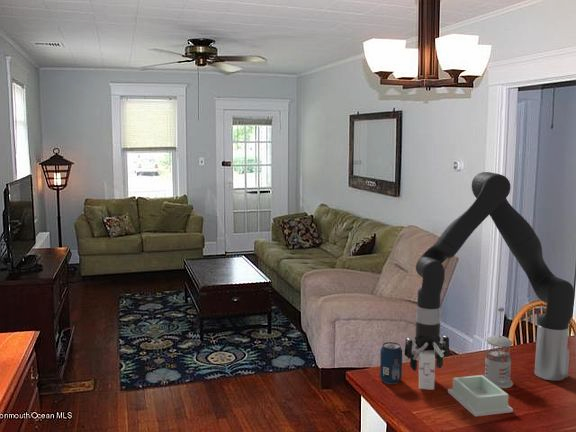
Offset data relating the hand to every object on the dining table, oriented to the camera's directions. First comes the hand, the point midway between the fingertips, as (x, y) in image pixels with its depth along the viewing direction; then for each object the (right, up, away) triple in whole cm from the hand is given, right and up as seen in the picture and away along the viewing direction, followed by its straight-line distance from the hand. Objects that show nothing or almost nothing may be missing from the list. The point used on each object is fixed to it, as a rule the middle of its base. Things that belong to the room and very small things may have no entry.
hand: (426, 368), depth 186 cm
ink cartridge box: (0, -5, +1) cm, 5 cm away
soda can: (-11, -5, +3) cm, 12 cm away
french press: (+24, -5, +3) cm, 25 cm away
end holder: (+13, -7, -12) cm, 19 cm away
